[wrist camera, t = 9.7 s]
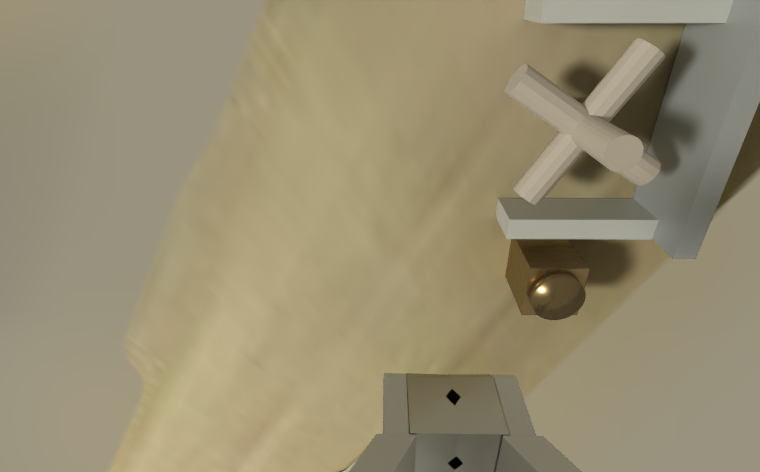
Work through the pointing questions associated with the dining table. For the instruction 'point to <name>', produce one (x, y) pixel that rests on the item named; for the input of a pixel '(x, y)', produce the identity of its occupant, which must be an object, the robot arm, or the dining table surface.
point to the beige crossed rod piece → (587, 122)
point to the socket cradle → (665, 127)
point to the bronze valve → (546, 277)
